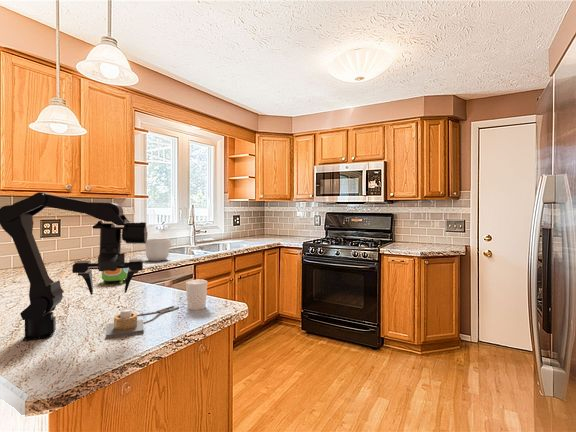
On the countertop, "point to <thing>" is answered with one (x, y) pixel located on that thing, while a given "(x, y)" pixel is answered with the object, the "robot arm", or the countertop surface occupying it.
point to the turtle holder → (115, 275)
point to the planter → (157, 249)
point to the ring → (125, 322)
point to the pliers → (159, 313)
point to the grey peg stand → (115, 333)
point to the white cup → (196, 294)
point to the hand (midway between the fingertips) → (108, 293)
